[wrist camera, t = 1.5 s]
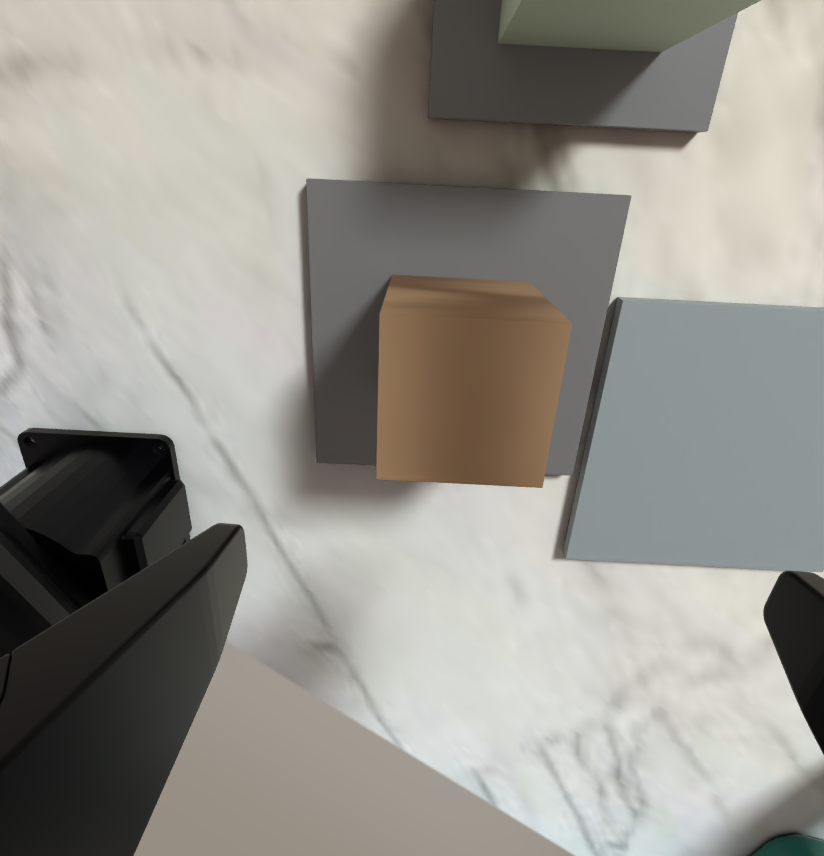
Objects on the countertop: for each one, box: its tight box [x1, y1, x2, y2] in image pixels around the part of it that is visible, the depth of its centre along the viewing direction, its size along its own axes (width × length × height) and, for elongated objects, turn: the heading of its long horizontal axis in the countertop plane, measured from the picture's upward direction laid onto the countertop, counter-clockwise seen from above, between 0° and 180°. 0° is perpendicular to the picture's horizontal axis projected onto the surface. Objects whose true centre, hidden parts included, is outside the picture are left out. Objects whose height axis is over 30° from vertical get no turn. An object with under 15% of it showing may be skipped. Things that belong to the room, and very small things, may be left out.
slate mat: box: [563, 297, 824, 572], centre depth 22 cm, size 12×12×1 cm
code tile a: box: [306, 179, 631, 476], centre depth 20 cm, size 11×11×1 cm
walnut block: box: [376, 275, 572, 488], centre depth 17 cm, size 5×5×6 cm
